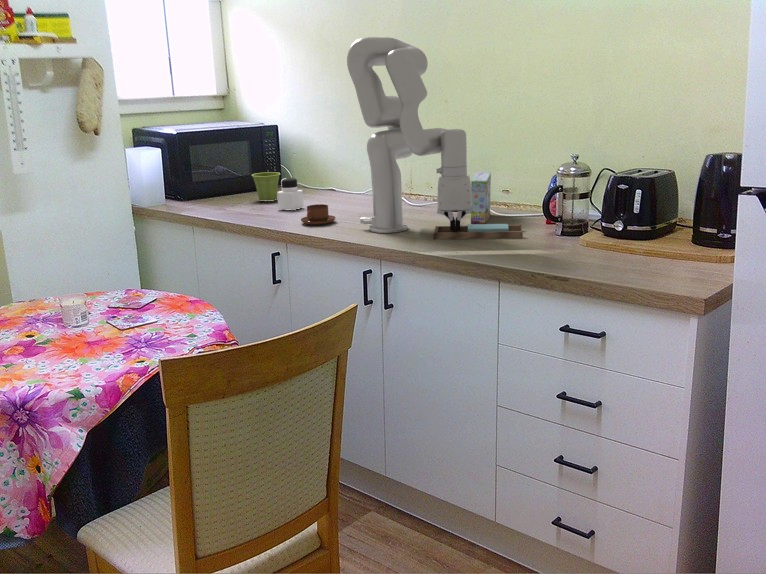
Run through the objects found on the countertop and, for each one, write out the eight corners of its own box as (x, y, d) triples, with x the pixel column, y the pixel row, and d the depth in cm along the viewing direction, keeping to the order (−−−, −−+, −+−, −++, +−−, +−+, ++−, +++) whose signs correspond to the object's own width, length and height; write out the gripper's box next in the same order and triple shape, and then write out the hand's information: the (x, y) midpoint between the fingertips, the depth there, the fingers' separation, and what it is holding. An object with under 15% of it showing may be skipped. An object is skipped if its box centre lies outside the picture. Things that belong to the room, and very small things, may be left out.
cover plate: (467, 237, 222) (467, 229, 221) (468, 232, 228) (468, 224, 228) (508, 236, 220) (508, 228, 220) (507, 231, 227) (507, 223, 226)
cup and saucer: (330, 227, 252) (329, 209, 251) (296, 227, 255) (295, 209, 253) (339, 220, 264) (338, 203, 262) (307, 220, 266) (305, 203, 264)
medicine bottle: (304, 208, 290) (301, 177, 286) (292, 211, 284) (290, 180, 281) (289, 207, 293) (287, 176, 290) (278, 210, 288) (275, 179, 284)
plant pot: (250, 203, 306) (247, 176, 303) (259, 198, 317) (256, 172, 314) (277, 203, 304) (275, 175, 301) (286, 198, 315) (283, 171, 312)
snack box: (487, 227, 240) (487, 180, 236) (470, 227, 241) (469, 180, 237) (491, 214, 260) (491, 171, 256) (475, 215, 261) (475, 171, 257)
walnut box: (434, 242, 222) (433, 233, 221) (436, 235, 232) (435, 226, 231) (522, 241, 218) (522, 231, 218) (520, 233, 228) (520, 224, 227)
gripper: (428, 174, 218) (429, 235, 223) (479, 172, 216) (480, 234, 221) (429, 171, 225) (431, 230, 230) (479, 169, 223) (480, 229, 228)
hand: (455, 232), depth 225 cm, fingers closed
